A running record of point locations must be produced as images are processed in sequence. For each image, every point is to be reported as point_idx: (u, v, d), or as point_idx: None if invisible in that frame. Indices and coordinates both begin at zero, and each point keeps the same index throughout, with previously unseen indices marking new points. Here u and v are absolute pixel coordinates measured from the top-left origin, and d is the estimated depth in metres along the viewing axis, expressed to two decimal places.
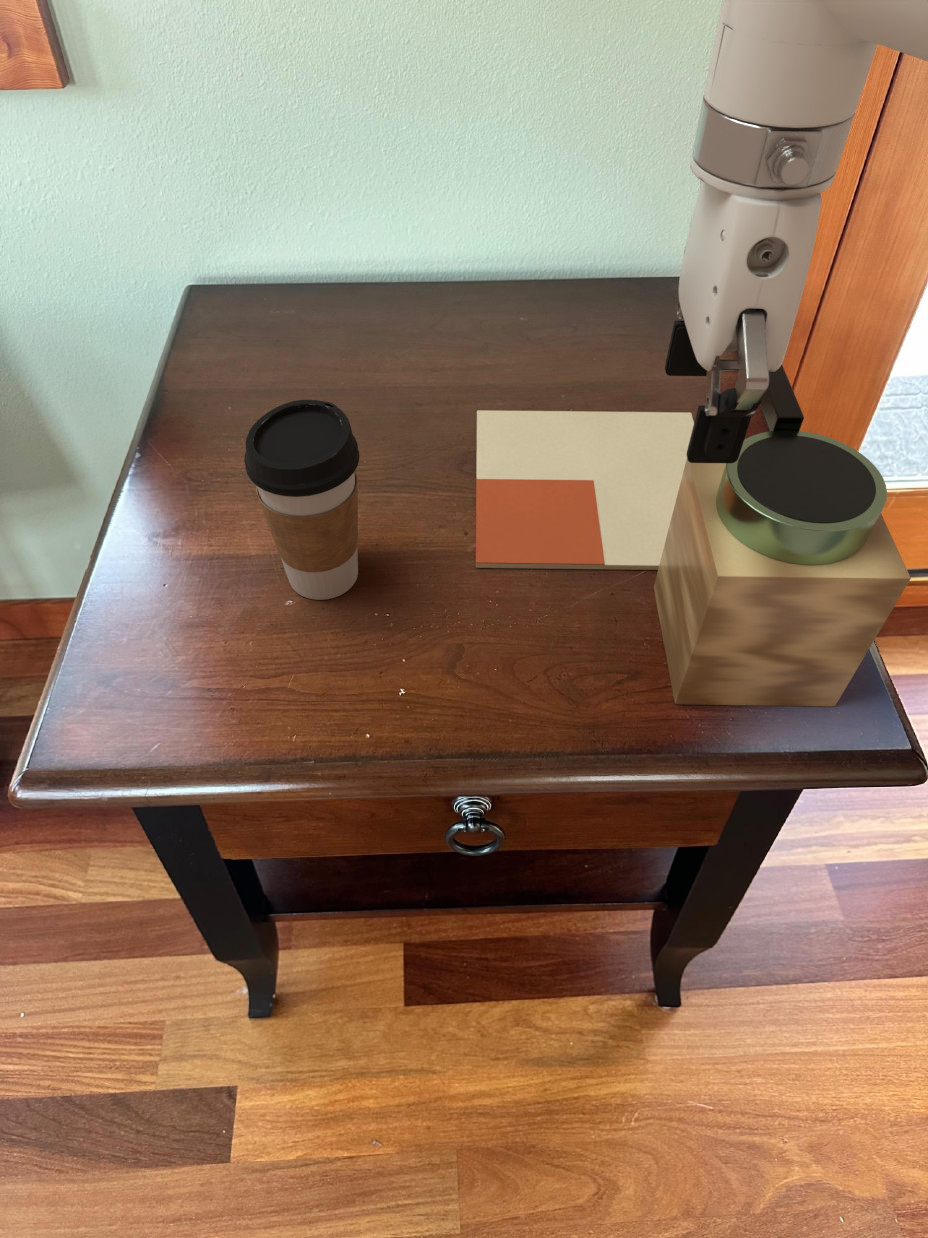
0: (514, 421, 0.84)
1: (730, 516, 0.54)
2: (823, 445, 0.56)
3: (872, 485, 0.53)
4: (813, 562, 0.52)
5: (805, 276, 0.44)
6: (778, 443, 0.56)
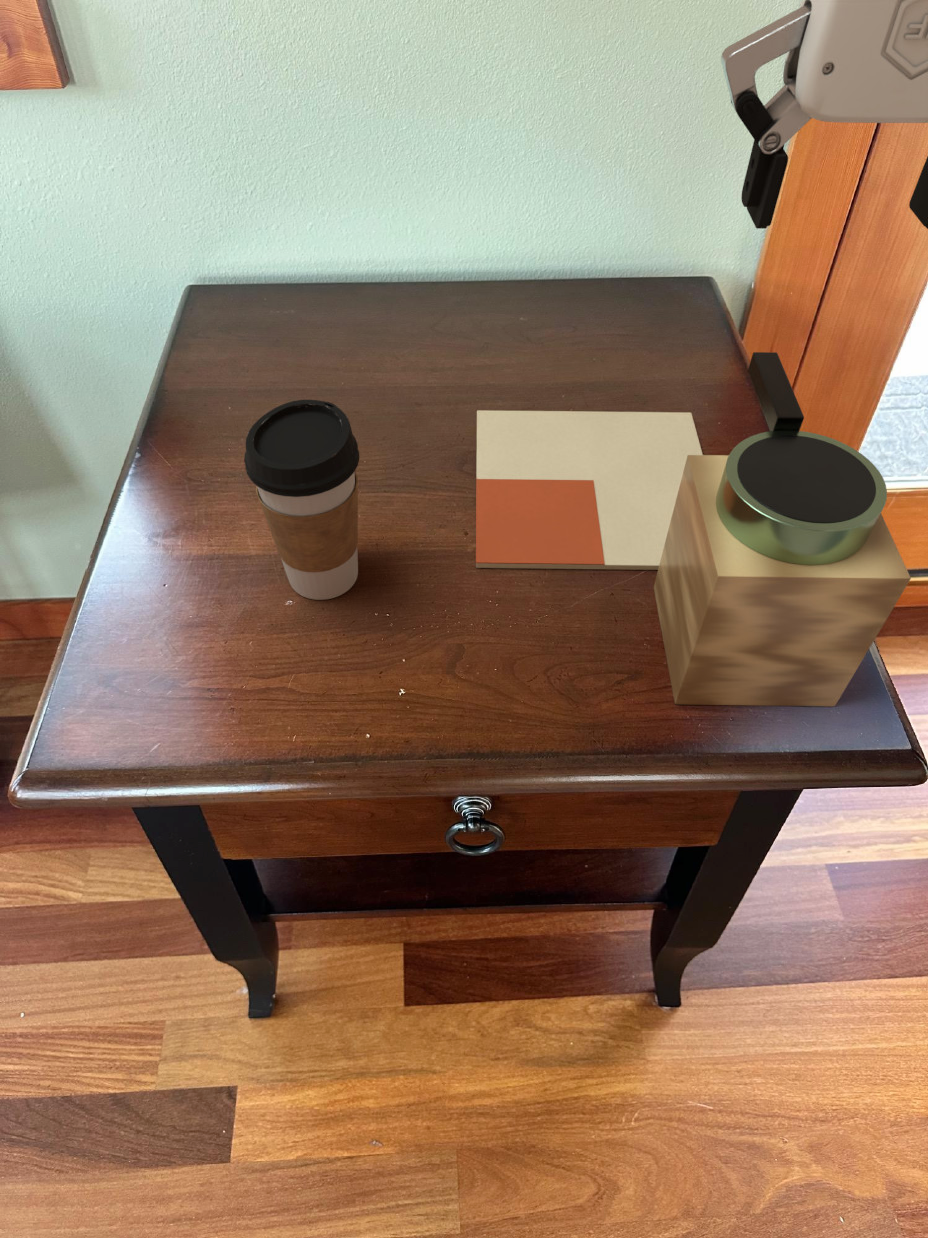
0: (514, 421, 0.84)
1: (730, 516, 0.54)
2: (823, 445, 0.56)
3: (872, 485, 0.53)
4: (813, 562, 0.52)
5: None
6: (778, 443, 0.56)
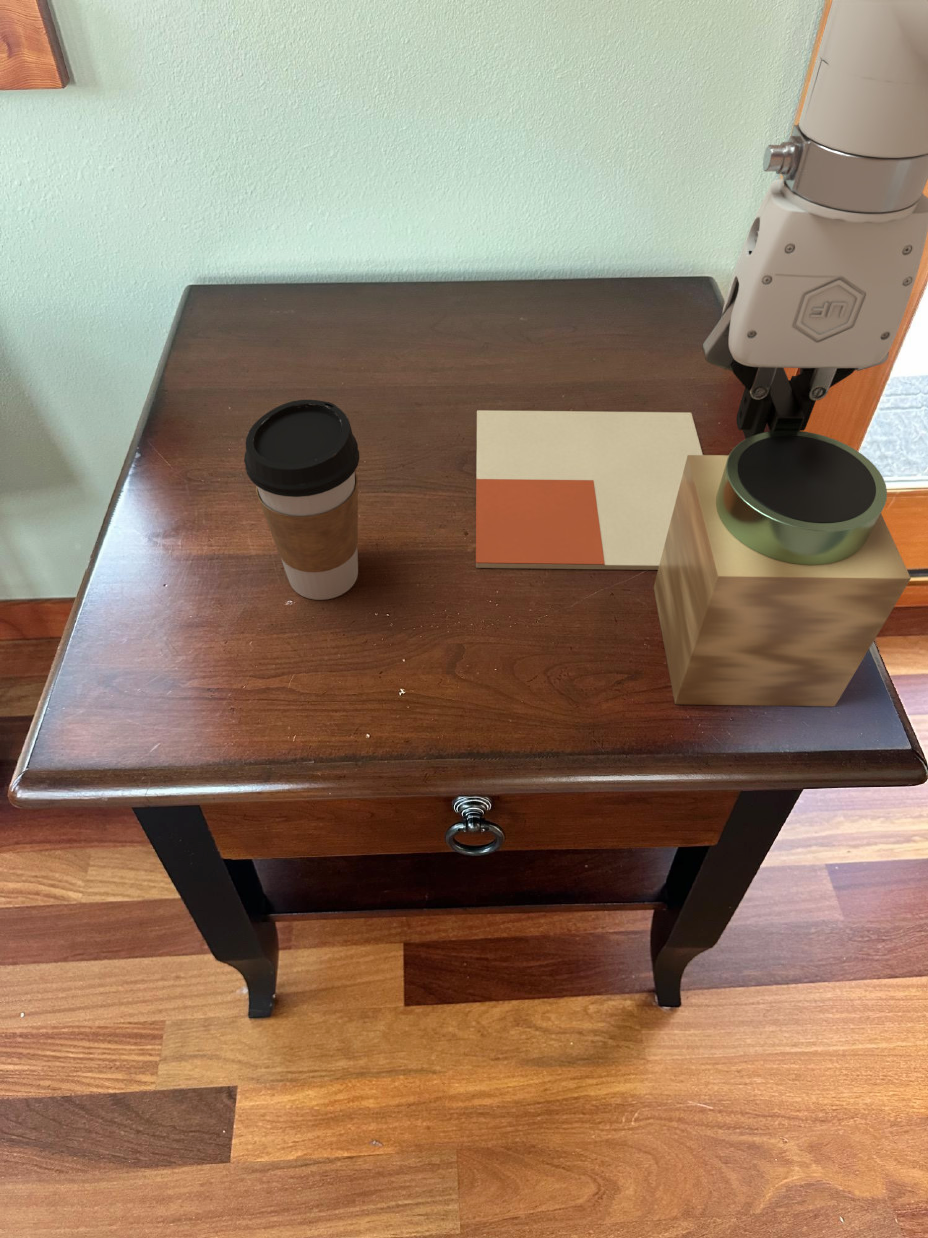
0: (514, 421, 0.84)
1: (730, 516, 0.54)
2: (823, 445, 0.56)
3: (872, 485, 0.53)
4: (813, 562, 0.52)
5: (759, 272, 0.49)
6: (778, 443, 0.56)
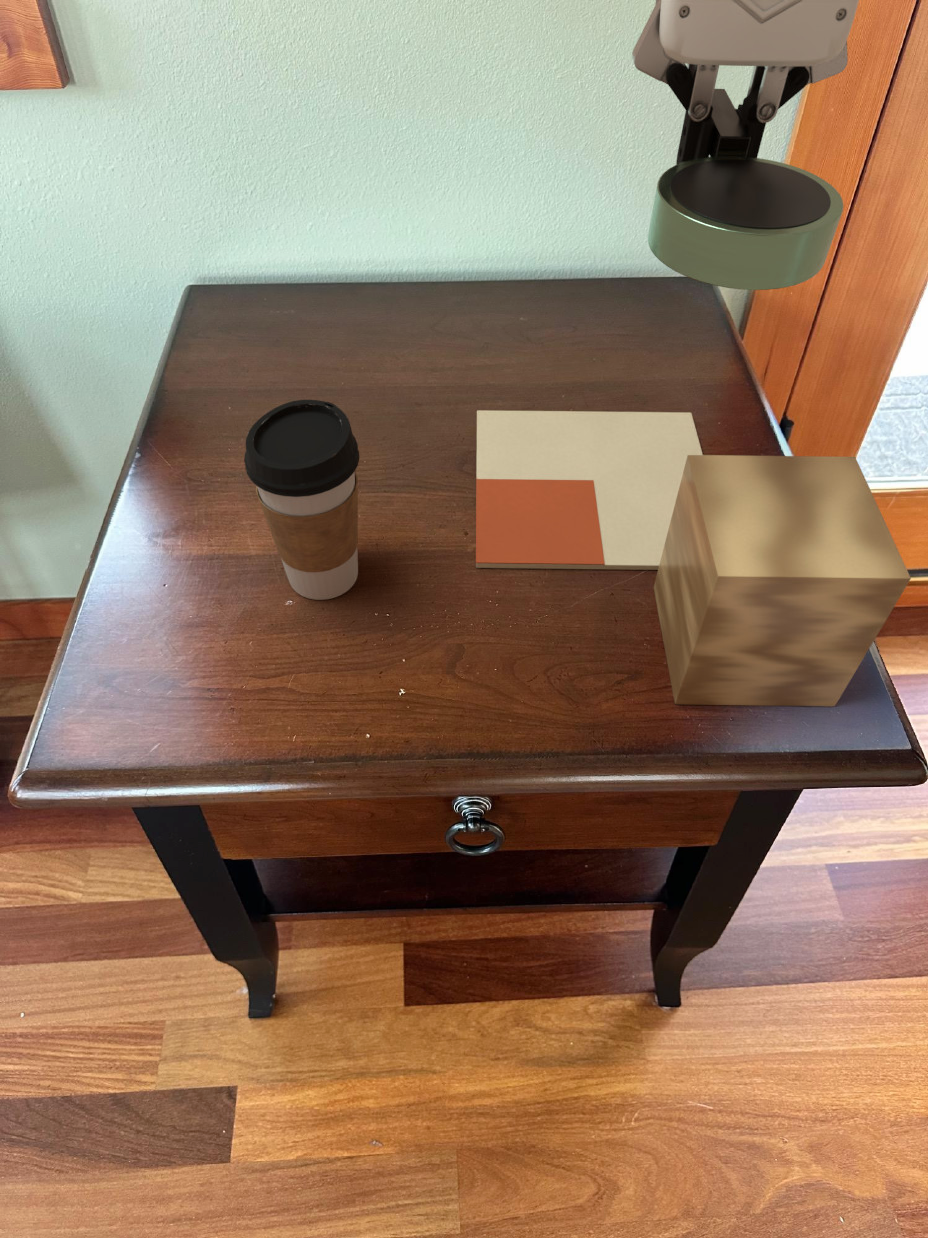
0: (514, 421, 0.84)
1: (661, 240, 0.46)
2: (772, 168, 0.48)
3: (826, 199, 0.45)
4: (756, 285, 0.44)
5: None
6: (720, 166, 0.48)
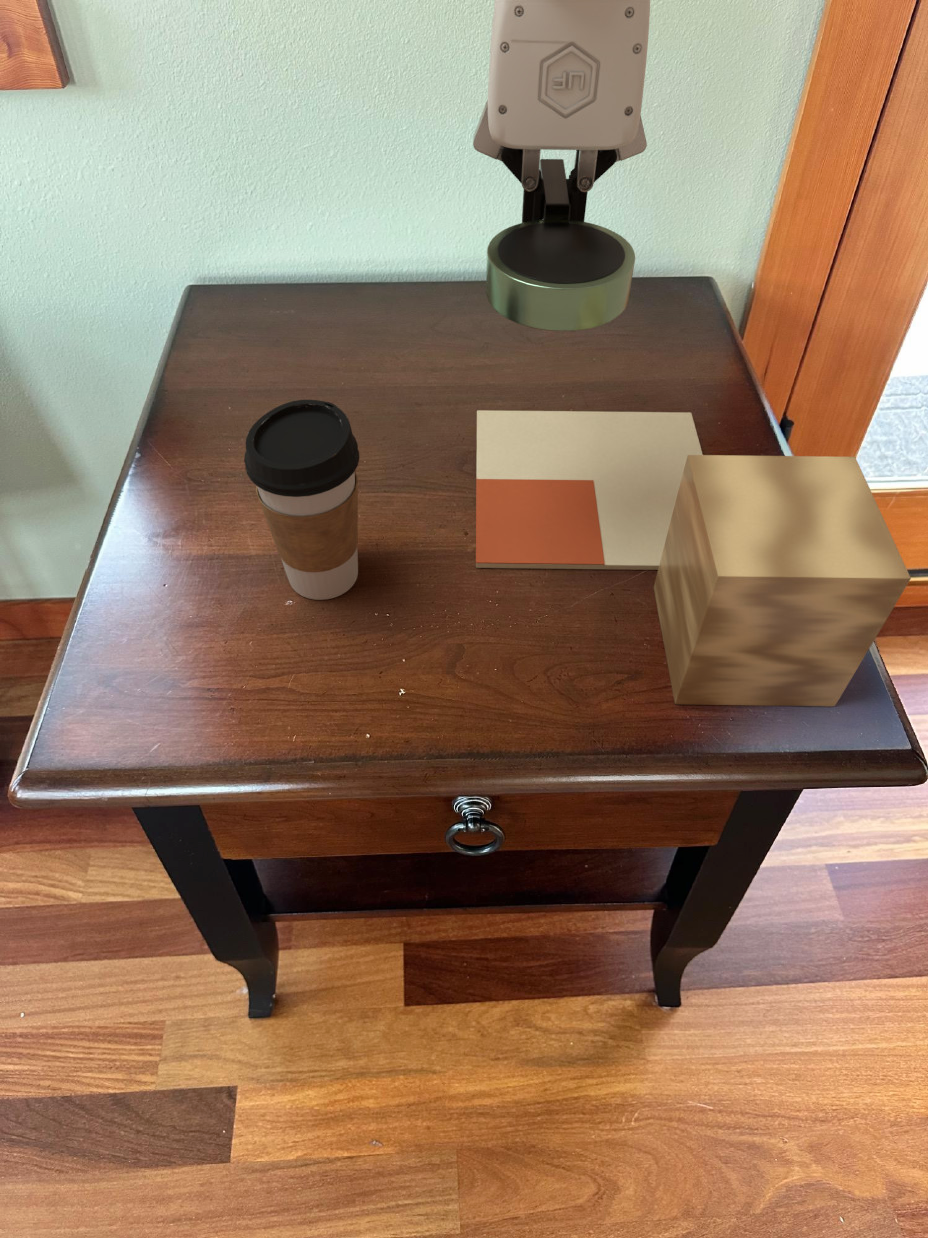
0: (514, 421, 0.84)
1: (491, 290, 0.57)
2: (586, 229, 0.58)
3: (621, 257, 0.56)
4: (562, 327, 0.55)
5: (497, 40, 0.52)
6: (544, 228, 0.59)
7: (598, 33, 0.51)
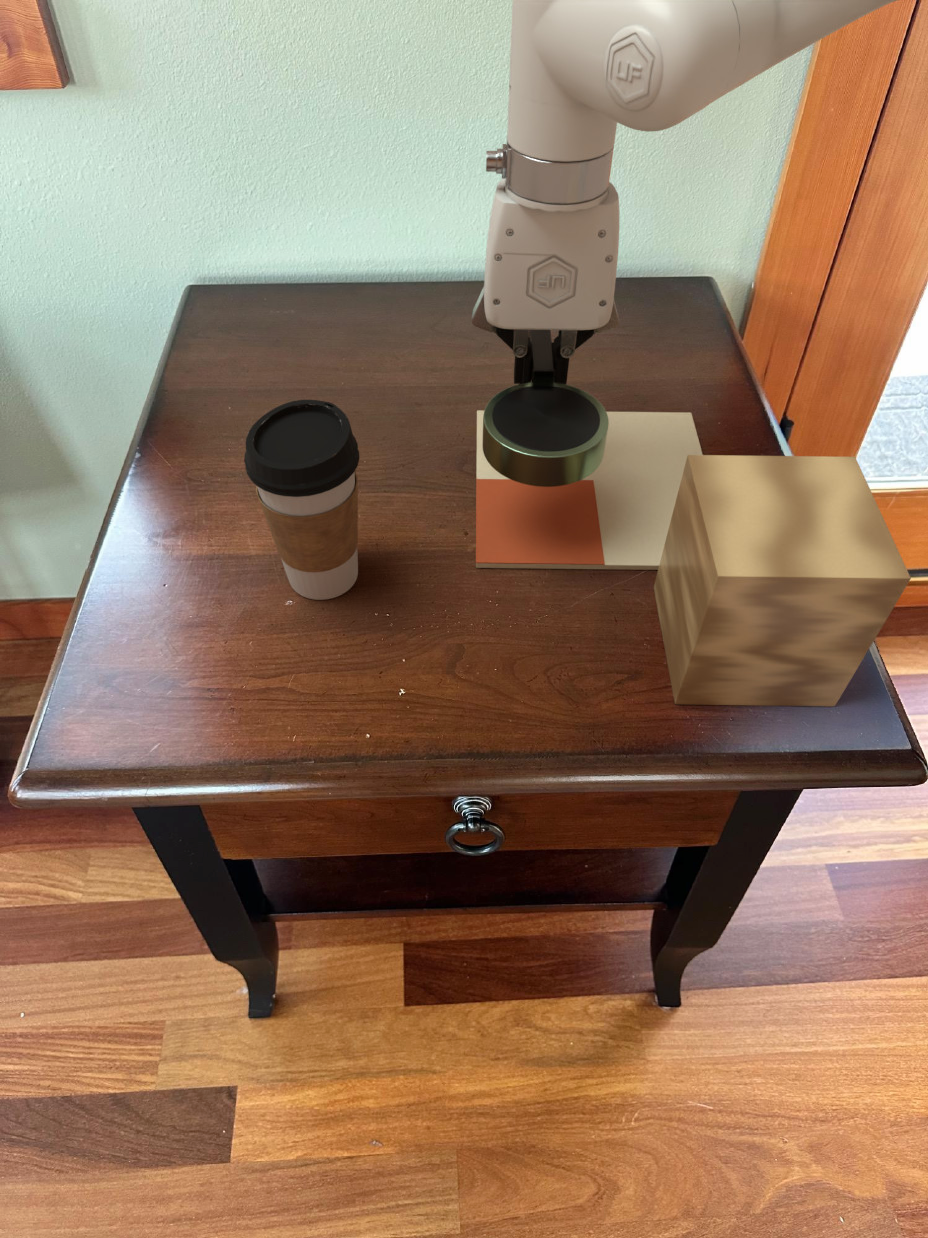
0: None
1: (486, 449, 0.67)
2: (568, 393, 0.69)
3: (597, 423, 0.66)
4: (547, 484, 0.65)
5: (491, 251, 0.62)
6: (532, 392, 0.69)
7: (576, 248, 0.61)
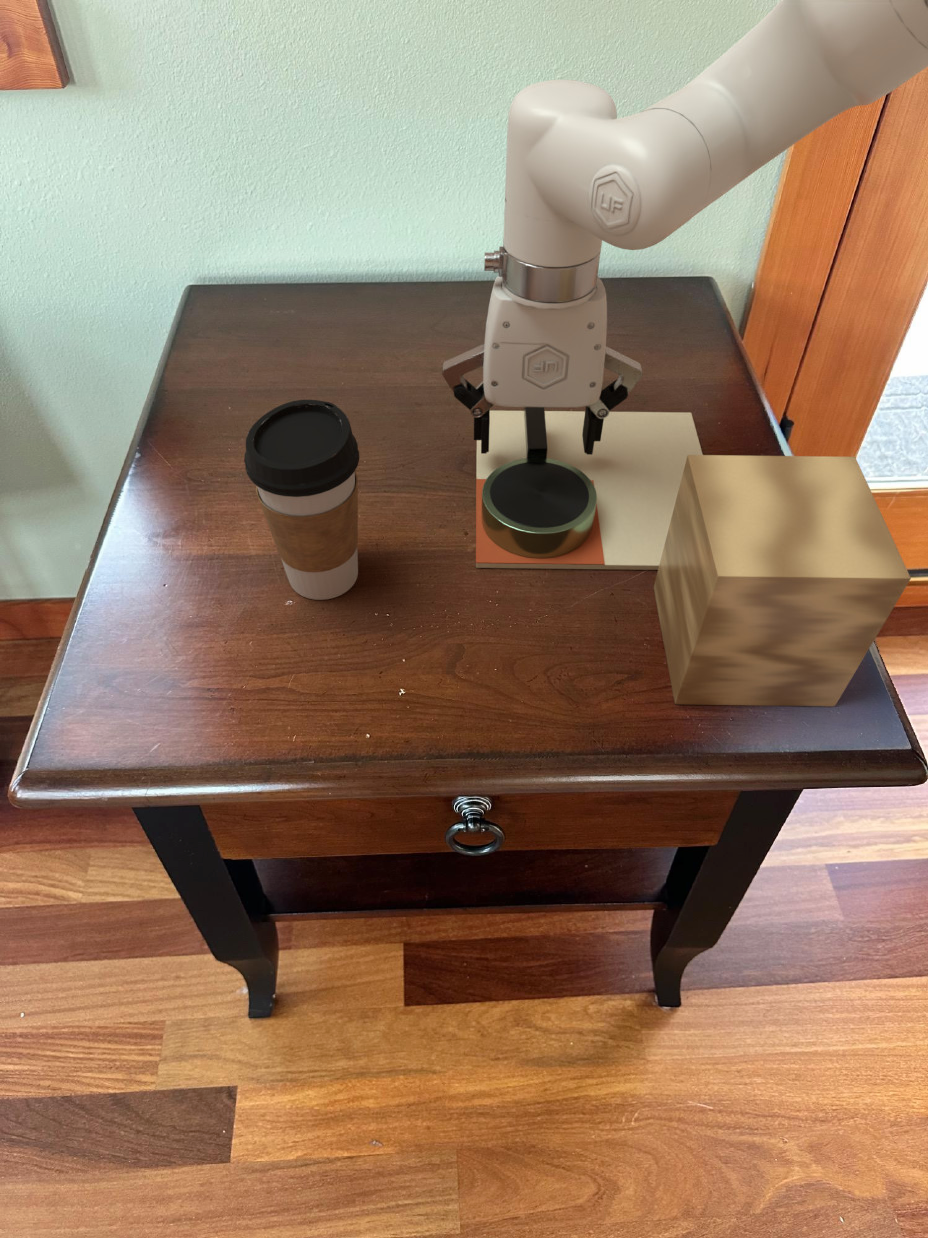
0: (514, 421, 0.84)
1: (485, 522, 0.73)
2: (560, 469, 0.75)
3: (586, 499, 0.72)
4: (540, 556, 0.71)
5: (489, 341, 0.68)
6: (527, 468, 0.75)
7: (567, 338, 0.67)
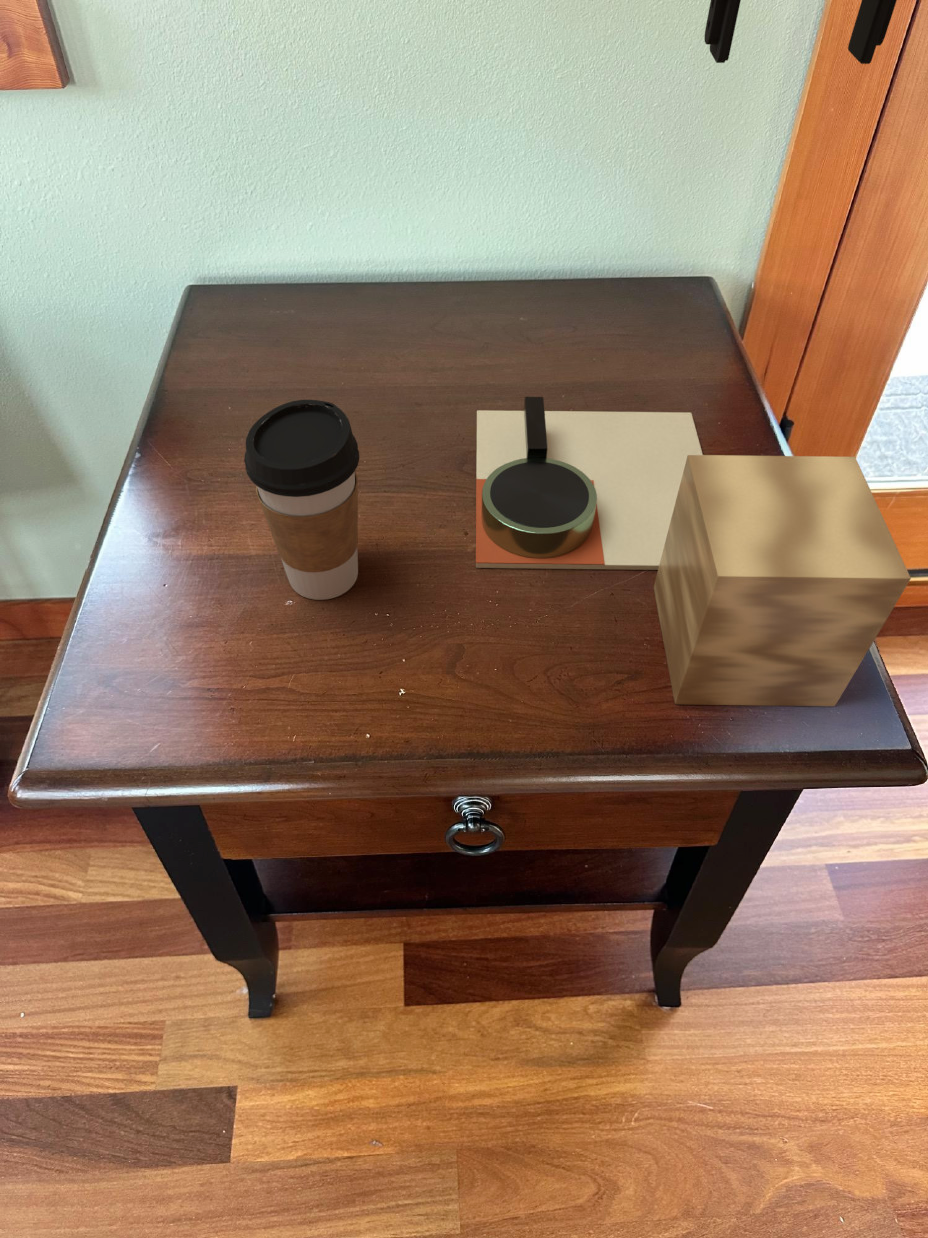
0: (514, 421, 0.84)
1: (485, 522, 0.73)
2: (560, 469, 0.75)
3: (586, 499, 0.72)
4: (540, 556, 0.71)
5: None
6: (527, 468, 0.75)
7: None
